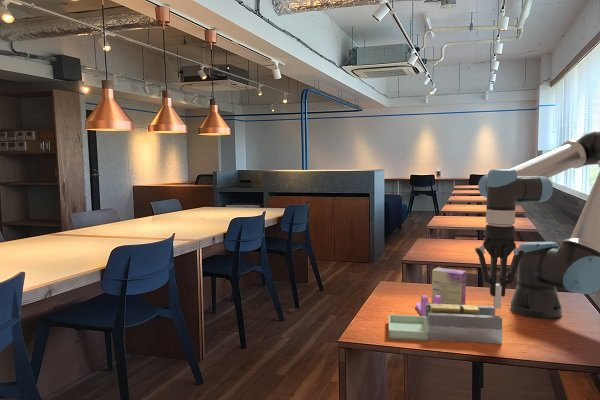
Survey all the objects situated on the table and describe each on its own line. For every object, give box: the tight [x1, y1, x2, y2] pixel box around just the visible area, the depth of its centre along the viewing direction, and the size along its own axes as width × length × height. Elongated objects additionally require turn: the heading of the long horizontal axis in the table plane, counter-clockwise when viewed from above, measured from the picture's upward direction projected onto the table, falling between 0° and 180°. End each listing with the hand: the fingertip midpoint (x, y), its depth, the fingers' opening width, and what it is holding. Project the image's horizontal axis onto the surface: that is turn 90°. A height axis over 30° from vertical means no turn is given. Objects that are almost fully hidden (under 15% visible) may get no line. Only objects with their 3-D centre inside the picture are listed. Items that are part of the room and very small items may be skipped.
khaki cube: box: [430, 303, 446, 313], centre depth 141 cm, size 4×4×4 cm
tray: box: [388, 313, 430, 342], centre depth 143 cm, size 11×14×2 cm
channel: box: [426, 302, 503, 345], centre depth 140 cm, size 20×12×7 cm, turn 80°
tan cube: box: [444, 304, 460, 314], centre depth 140 cm, size 4×4×4 cm
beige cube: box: [462, 304, 479, 315], centre depth 139 cm, size 4×4×4 cm
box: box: [431, 267, 467, 305], centre depth 169 cm, size 10×6×12 cm, turn 58°
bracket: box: [415, 294, 441, 317], centre depth 161 cm, size 13×6×7 cm, turn 0°
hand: (496, 307), depth 138 cm, fingers closed
